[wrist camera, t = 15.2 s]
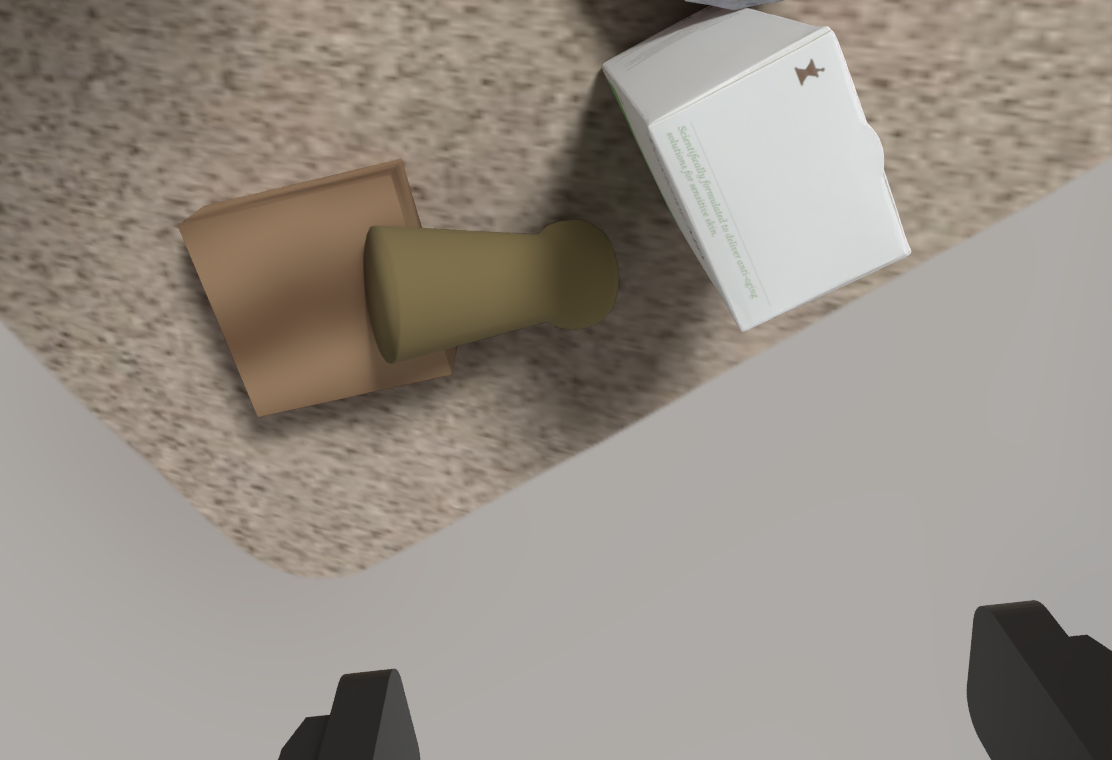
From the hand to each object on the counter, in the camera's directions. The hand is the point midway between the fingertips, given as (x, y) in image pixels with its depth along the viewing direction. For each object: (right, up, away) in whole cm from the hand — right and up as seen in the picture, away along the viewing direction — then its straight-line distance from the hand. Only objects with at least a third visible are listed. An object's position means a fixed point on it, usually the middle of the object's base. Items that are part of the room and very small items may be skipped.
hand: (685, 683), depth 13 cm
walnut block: (-13, +10, +33) cm, 37 cm away
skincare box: (+5, +17, +30) cm, 35 cm away
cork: (-10, +8, +26) cm, 29 cm away
